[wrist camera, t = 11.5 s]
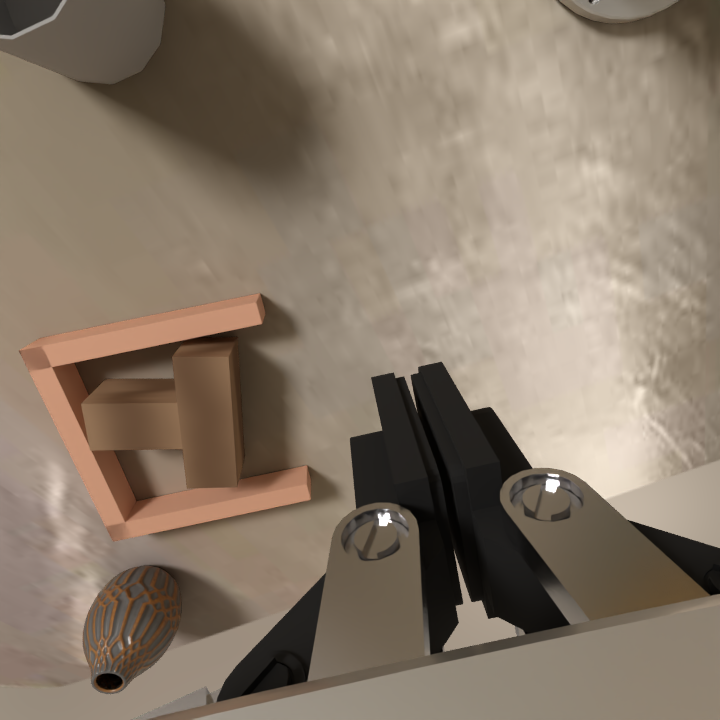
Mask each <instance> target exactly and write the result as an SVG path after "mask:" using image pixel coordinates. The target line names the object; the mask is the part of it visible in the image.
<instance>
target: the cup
mask: <svg viewBox="0 0 720 720" xmlns="http://www.w3.org/2000/svg"><path fill="white" fill-rule="evenodd" d="M164 14H165V2H164V0H0V50H1V51H3V52H6V53H8V54H11V55H13V56H16V57H19V58H21V59H24V60H26V61H29V62H31V63H34V64H36V65H39V66H41V67H44V68H46V69H49V70H52V71H54V72H57V73H59V74H62V75H64V76H67V77H69V78H72V79H74V80H77V81H80V82H92V83H103V84H115V83H117V82H119V81H121V80H124V79H126V78H128V77H130V76H132V75H134V74H137V73H139V72H141V71H142V70H143V69H144V67H145V66H146V64H147V63H148V61H149V60H150V58H151V57H152V55H153V54H154V53H155V51H156V50H157V48H158V47H159V45H160V44H161V37H162V29H163V22H164Z"/></svg>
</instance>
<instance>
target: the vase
mask: <svg viewBox="0 0 720 720" xmlns="http://www.w3.org/2000/svg"><path fill="white" fill-rule="evenodd" d="M181 611H182V600H181V593H180V589H179V587H178V585H177V583H176V582H175V580H174V579H173V578H172V577H171V576H170V575H169V574H168V573H167V572H165V571H164V570H162V569H160V568H157V567H153V566H139V567H134V568H131V569H128V570H126V571H123V572H121V573H120V574H118V575H117V576H115V577H114V578H113V579H112V580H111V581H109V582H108V583H107V584H106V585H105V587H104V588H103V589H102V590H101V591H100V593H99V594H98V596H97V597H96V599H95V600H94V602H93V604H92V606H91V608H90V610H89V612H88V615H87V618H86V621H85V625H84V631H83V649H84V653H85V656H86V659H87V662H88V664H89V667H90V670H91V684H92V686H93V687H94V688H95V689H96V690H97V691H99V692H101V693H105V694H114V693H118V692H120V691H122V690H123V689H124V688H125V687H126V686H127V685H128V684H129V683H130V682H131V681H132V680H133V679H134V678H135V677H137V676H138V675H140V674H142V673H143V672H144V671H146V670H147V669H149V668H150V667H151V666H153V665H154V664H155V663H156V662H157V661H158V660H159V659H160V658H161V657H162V656H163V654H164V653H165V652H166V650H167V649H168V647H169V646H170V644H171V642H172V641H173V638H174V636H175V634H176V632H177V629H178V626H179V622H180V617H181Z"/></svg>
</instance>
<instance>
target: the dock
mask: <svg viewBox="0 0 720 720" xmlns="http://www.w3.org/2000/svg"><path fill="white" fill-rule="evenodd" d="M265 314H266V313H265V309H264V305H263V302H262V298H261V294H260V293H259V294H254V295H249V296H244V297H239V298H234V299H229V300H224V301H219V302H215V303H210V304H205V305H200V306H195V307H190V308H185V309H180V310H175V311H171V312H166V313H161V314H156V315H151V316H146V317H141V318H136V319H131V320H126V321H122V322H117V323H112V324H107V325H102V326H97V327H92V328H87V329H82V330H78V331H73V332H68V333H63V334H58V335H53V336H48V337H43V338H39V339H38V340H36V341H34V342H33V343H31V344H29V345H28V346H26V347H24V348H23V349H21V350H19V352H20V354H21V356H22V358H23V360H24V362H25V364H26V366H27V368H28V370H29V372H30V374H31V376H32V378H33V380H34V382H35V384H36V387H37V389H38V391H39V393H40V395H41V397H42V399H43V401H44V403H45V405H46V407H47V409H48V411H49V413H50V415H51V417H52V419H53V421H54V423H55V425H56V427H57V429H58V431H59V433H60V435H61V437H62V439H63V441H64V443H65V445H66V447H67V449H68V451H69V453H70V455H71V457H72V459H73V461H74V464H75V466H76V468H77V470H78V472H79V474H80V476H81V478H82V480H83V482H84V484H85V486H86V488H87V490H88V492H89V494H90V496H91V498H92V500H93V502H94V504H95V506H96V508H97V510H98V512H99V514H100V516H101V518H102V520H103V522H104V524H105V526H106V528H107V530H108V532H109V534H110V536H111V538H112V540H113V541H118V540H123V539H128V538H132V537H137V536H142V535H147V534H151V533H156V532H161V531H166V530H170V529H175V528H180V527H184V526H189V525H194V524H199V523H203V522H208V521H213V520H218V519H222V518H227V517H232V516H236V515H241V514H246V513H251V512H255V511H260V510H265V509H270V508H274V507H279V506H284V505H289V504H293V503H298V502H303V501H307V500H311V478H310V475H309V471H308V467H307V465H306V466H301V467H297V468H292V469H287V470H282V471H278V472H273V473H268V474H263V475H259V476H254V477H249V478H244V479H240V480H239V483H238V487H229V488H197V489H192V490H187V491H182V492H178V493H173V494H168V495H163V496H159V497H154V498H149V499H144V500H140V501H136V499H135V497H134V494H133V492H132V490H131V488H130V485H129V483H128V481H127V479H126V477H125V474H124V472H123V470H122V468H121V465H120V463H119V461H118V459H117V457H116V454H115V452H114V450H96V451H90V447H89V442H88V437H87V432H86V427H85V422H84V417H83V412H82V407H81V403H82V402H83V401H84V400H85V399H86V398H87V397H88V396H89V394H88V392H87V390H86V388H85V386H84V383H83V381H82V379H81V377H80V374H79V372H78V370H77V368H76V366H75V363H74V362H79V361H84V360H89V359H94V358H99V357H104V356H108V355H113V354H118V353H123V352H128V351H133V350H138V349H143V348H147V347H152V346H157V345H162V344H167V343H172V342H177V341H182V340H186V339H191V338H196V337H201V336H206V335H211V334H216V333H220V332H225V331H230V330H235V329H240V328H245V327H250V326H255V325H259V324H262V323H263V320H264V317H265Z"/></svg>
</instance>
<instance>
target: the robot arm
mask: <svg viewBox="0 0 720 720" xmlns="http://www.w3.org/2000/svg"><path fill="white" fill-rule="evenodd" d="M559 1H560V2H561V3H563V4H564V5H565V6H567V7H568V8H569V9H571V10H572V11H573V12H575V13H576V14H578V15H581V16H583V17H585V18H588V19H590V20H593V21H597V22H604V23H610V24H615V23H627V22H633V21H636V20H640V19H643V18H646V17H649V16H652V15H654V14H656V13H658V12H660V11H662V10H664V9H666V8H668V7H670V6H671V5H673V4H674V3H676V2H677V1H679V0H590V2H589V1H588V0H559ZM418 371H419V373H417V374H413V375H411V380H412V386H413V391H414V396H415V401H416V407H417V410H416V408H415V405H414V402H413V399H412V397H411V394H410V391H409V389H408V386H407V383H406V380H405V378H404V377H399V378H395V375H394V373H389V374H385V375H380V376H376V377H371V379H372V384H373V388H374V393H375V398H376V402H377V407H378V412H379V416H380V421H381V426H382V430H383V431H379V432H374V433H369V434H365V435H360V436H356V437H351V438H350V446H351V457H352V468H353V478H354V489H355V500H356V510H353V511H352V512H351V513H349V514H348V515H347V516H345V517H344V518H343V519H342V520H341V521H340V523H339V524H338V525H337V527H336V528H335V531H334V534H333V537H332V541H331V547H330V553H329V559H328V565H327V570H326V573H325V574H324V575H323V576H322V577H321V579H320V580H319V581H318V582H317V583H316V584H315V585H314V586H313V587H312V588H311V589H310V590H309V591H308V592H307V593H306V594H305V595H304V596H303V597H302V598H301V599H300V600H299V601H298V602H297V604H296V605H295V606H294V607H293V608H292V609H291V610H290V611H289V612H288V613H287V614H286V615H285V616H284V617H283V618H282V619H281V620H280V621H279V622H278V623H277V624H276V625H275V626H274V627H273V629H272V630H271V631H270V632H269V633H268V634H267V635H266V636H265V637H264V638H263V639H262V640H261V641H260V642H259V643H258V644H257V645H256V646H255V647H254V648H253V649H252V651H251V652H250V653H249V654H248V655H247V656H246V657H245V658H244V659H243V660H242V661H241V662H240V663H239V664H238V665H237V666H236V667H235V669H234V670H233V671H232V673H231V674H230V675H229V676H228V678H227V679H226V680H225V682H224V684H223V686H222V688H221V689H219V690H217V691H214V692H212V693H209V691H208V689H207V687H204V688H201V689H199V690H197V691H195V692H192V693H190V694H188V695H186V696H184V697H181V698H179V699H177V700H174V701H172V702H170V703H168V704H166V705H163V706H161V707H159V708H157V709H154V710H152V711H150V712H148V713H145V714H143V715H141V716H139V717H137V718H134V719H132V720H720V548H717V547H714V546H710V545H707V544H704V543H701V542H698V541H694V540H690V539H688V538H685V537H681V536H678V535H675V534H672V533H668V532H665V531H662V530H658V529H655V528H652V527H649V526H645V525H642V524H639V523H636V522H633V521H629V520H626V519H625V518H624V517H623V516H622V515H621V514H620V513H619V512H618V511H617V510H615V509H614V508H613V507H612V506H611V505H610V504H609V503H608V502H607V501H606V500H604V499H603V498H602V497H601V496H600V495H599V494H598V493H597V492H596V491H594V490H593V489H592V488H591V487H590V486H589V485H588V484H587V483H586V482H584V481H583V480H581V479H580V478H578V477H577V476H575V475H573V474H571V473H568V472H565V471H563V470H557V469H552V468H532V467H531V465H530V464H529V462H528V461H527V459H526V458H525V456H524V455H523V453H522V452H521V450H520V449H519V448H518V446H517V445H516V443H515V442H514V440H513V439H512V437H511V436H510V434H509V433H508V431H507V430H506V428H505V427H504V425H503V424H502V422H501V421H500V419H499V418H498V416H497V415H496V413H495V412H494V411H493V409H492V408H491V407H487V408H482V409H478V410H473V411H470V409H469V408H468V406H467V404H466V403H465V401H464V399H463V397H462V396H461V394H460V392H459V390H458V389H457V387H456V385H455V384H454V382H453V380H452V378H451V377H450V375H449V373H448V372H447V370H446V368H445V366H444V365H443V363H442V362H438V363H434V364H429V365H425V366H420V367H418ZM417 412H418V413H417ZM454 551H455V554H456V557H457V560H458V563H459V566H460V569H461V572H462V575H463V578H464V581H465V584H466V587H467V590H468V593H469V596H470V599H471V601H472V602H475V601H480V600H482V602H483V605H484V608H485V610H486V613H487V616H488V619H490V618H495V617H499V618H501V619H503V620H505V621H507V622H509V623H511V624H513V625H515V630H516V634H517V636H516V637H512V638H507V639H503V640H498V641H493V642H489V643H484V644H479V645H474V646H470V647H465V648H460V649H456V650H451V651H446V652H445V651H444V644H445V643H446V642H447V640H448V638H449V637H450V635H451V634H452V632H453V631H454V629H455V628H456V626H457V625H458V623H459V622H458V617H457V611H456V605H461V604H463V599H462V593H461V589H460V582H459V577H458V571H457V565H456V560H455V554H454Z"/></svg>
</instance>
